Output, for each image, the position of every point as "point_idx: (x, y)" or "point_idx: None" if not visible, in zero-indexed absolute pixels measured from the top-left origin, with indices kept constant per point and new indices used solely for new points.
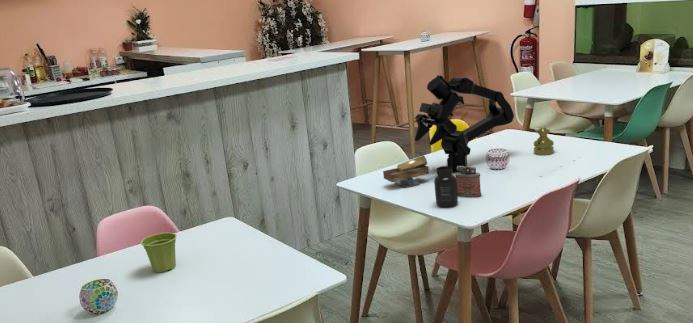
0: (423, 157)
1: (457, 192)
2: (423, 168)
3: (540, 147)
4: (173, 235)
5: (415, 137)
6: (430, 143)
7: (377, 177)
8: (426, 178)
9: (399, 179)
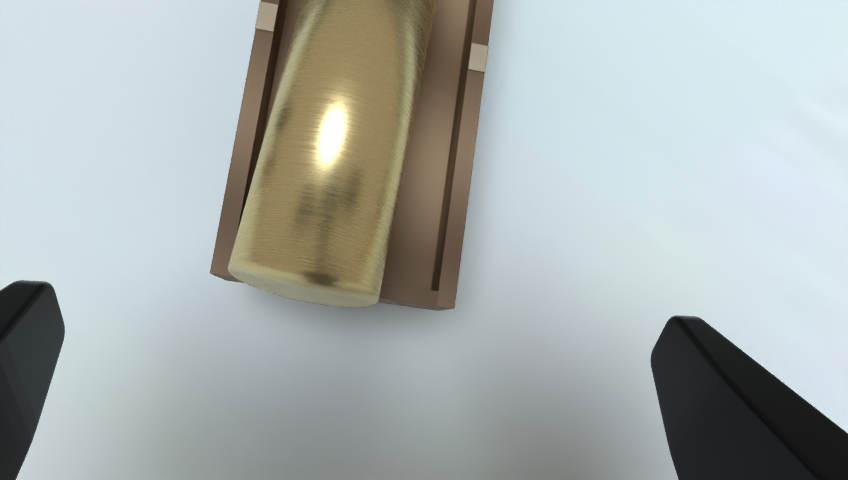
0: (261, 234)
1: None
2: (226, 202)
3: None
4: None
5: (734, 351)
6: (12, 298)
7: (756, 76)
8: (370, 344)
9: None
